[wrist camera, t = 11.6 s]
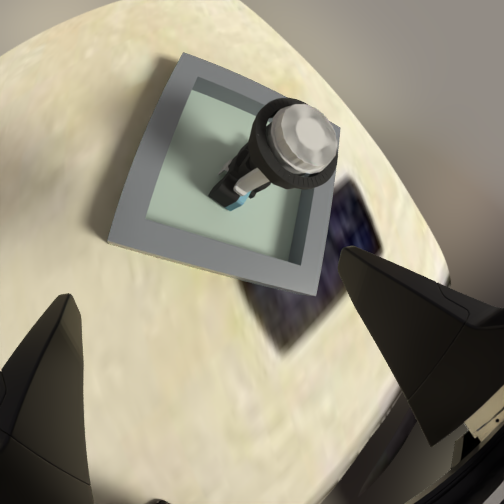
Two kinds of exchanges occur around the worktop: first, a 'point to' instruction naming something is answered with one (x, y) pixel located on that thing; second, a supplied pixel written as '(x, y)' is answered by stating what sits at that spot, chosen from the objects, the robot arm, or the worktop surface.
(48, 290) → the worktop surface
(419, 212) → the worktop surface
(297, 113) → the push button
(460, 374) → the robot arm
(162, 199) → the dock
